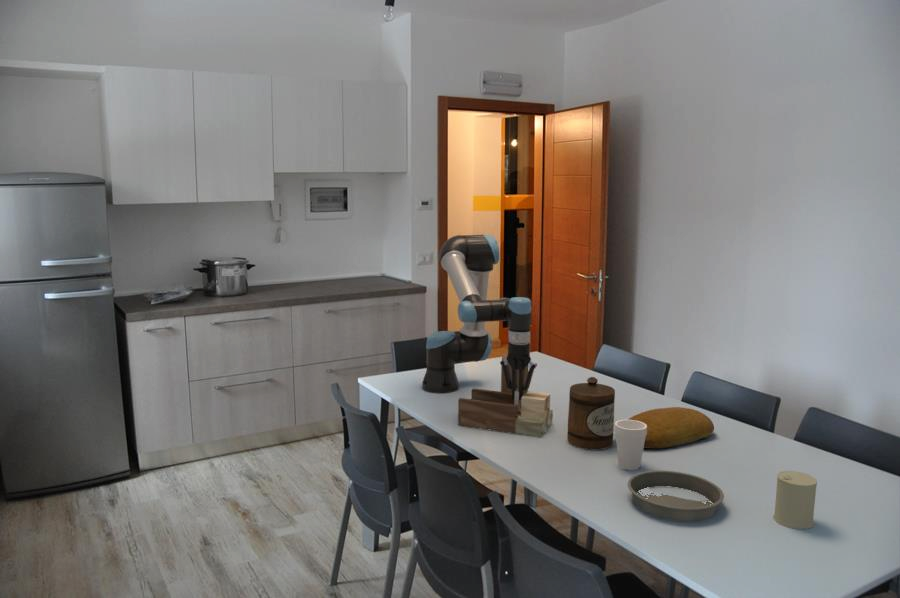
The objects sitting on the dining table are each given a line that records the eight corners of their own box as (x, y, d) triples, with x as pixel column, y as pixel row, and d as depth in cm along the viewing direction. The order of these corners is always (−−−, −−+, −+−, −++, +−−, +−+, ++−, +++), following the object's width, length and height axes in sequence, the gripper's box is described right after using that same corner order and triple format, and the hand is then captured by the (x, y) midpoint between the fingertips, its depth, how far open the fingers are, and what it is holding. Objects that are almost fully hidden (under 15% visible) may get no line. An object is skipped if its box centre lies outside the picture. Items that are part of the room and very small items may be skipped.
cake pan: (743, 518, 184) (744, 501, 183) (659, 530, 177) (660, 513, 176) (686, 480, 207) (687, 465, 206) (610, 490, 200) (610, 474, 199)
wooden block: (527, 404, 277) (528, 353, 274) (527, 412, 267) (528, 360, 264) (501, 403, 278) (502, 352, 275) (500, 411, 268) (501, 359, 265)
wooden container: (597, 453, 227) (600, 386, 223) (558, 442, 237) (560, 377, 233) (621, 441, 237) (624, 377, 234) (582, 430, 247) (585, 369, 244)
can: (766, 513, 186) (770, 469, 184) (800, 512, 187) (804, 468, 185) (785, 530, 177) (789, 484, 175) (821, 528, 178) (825, 483, 176)
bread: (724, 438, 241) (726, 410, 240) (644, 455, 226) (645, 425, 224) (684, 422, 257) (685, 395, 256) (606, 437, 242) (607, 409, 240)
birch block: (527, 410, 253) (528, 391, 252) (549, 413, 250) (550, 394, 249) (520, 417, 246) (521, 397, 245) (543, 420, 243) (544, 400, 242)
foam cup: (627, 474, 211) (629, 431, 209) (606, 463, 219) (608, 422, 217) (651, 468, 215) (653, 427, 213) (630, 458, 223) (632, 418, 221)
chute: (473, 413, 266) (473, 388, 264) (552, 423, 254) (552, 397, 253) (458, 425, 252) (458, 399, 250) (541, 437, 241) (541, 410, 239)
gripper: (497, 342, 246) (496, 409, 249) (534, 346, 241) (532, 414, 244) (504, 338, 253) (503, 403, 256) (540, 342, 248) (538, 407, 251)
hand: (517, 408), depth 250 cm, fingers closed
